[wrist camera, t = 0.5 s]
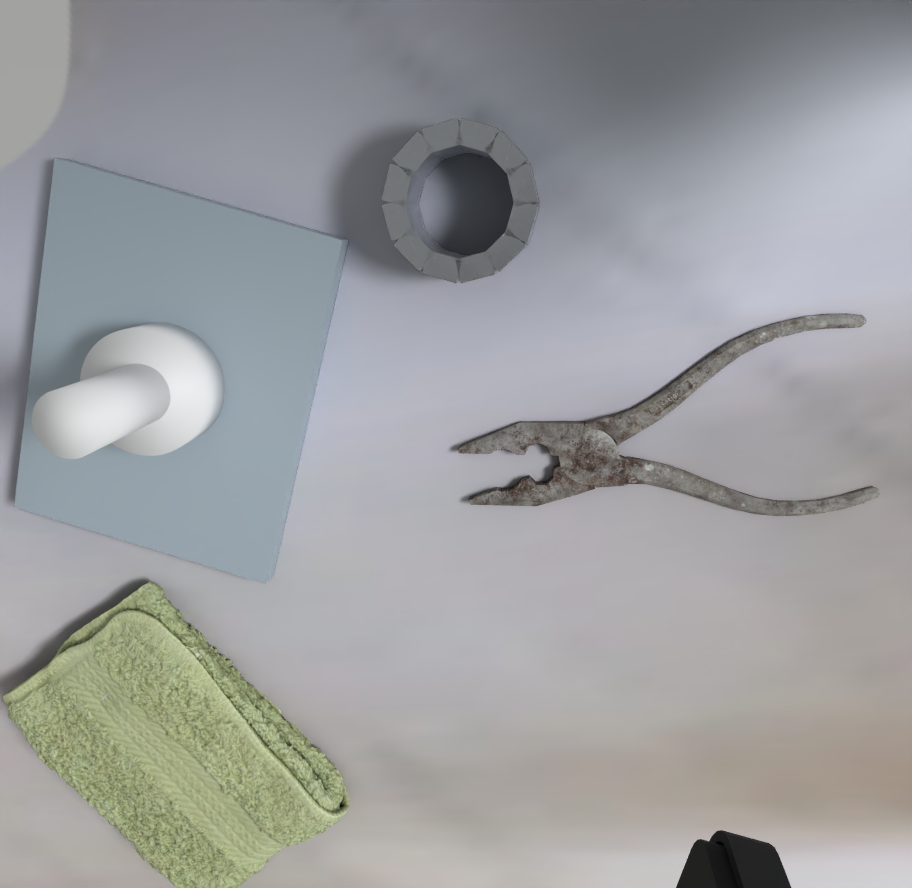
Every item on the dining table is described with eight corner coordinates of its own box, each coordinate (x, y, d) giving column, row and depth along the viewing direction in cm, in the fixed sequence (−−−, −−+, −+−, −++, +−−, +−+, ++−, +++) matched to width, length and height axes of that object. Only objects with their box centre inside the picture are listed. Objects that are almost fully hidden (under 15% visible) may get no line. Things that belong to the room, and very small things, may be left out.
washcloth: (155, 561, 44) (125, 587, 41) (368, 784, 46) (355, 824, 43) (10, 687, 47) (-28, 720, 44) (216, 890, 50) (193, 934, 46)
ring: (418, 113, 36) (404, 101, 32) (555, 151, 36) (555, 144, 32) (384, 254, 38) (367, 257, 34) (514, 292, 37) (511, 299, 34)
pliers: (919, 486, 37) (520, 618, 41) (911, 481, 38) (520, 610, 42) (859, 291, 35) (446, 449, 39) (852, 290, 36) (449, 445, 40)
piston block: (69, 159, 38) (-86, 138, 29) (348, 240, 38) (282, 245, 28) (28, 499, 43) (-115, 574, 34) (273, 574, 43) (196, 671, 33)
